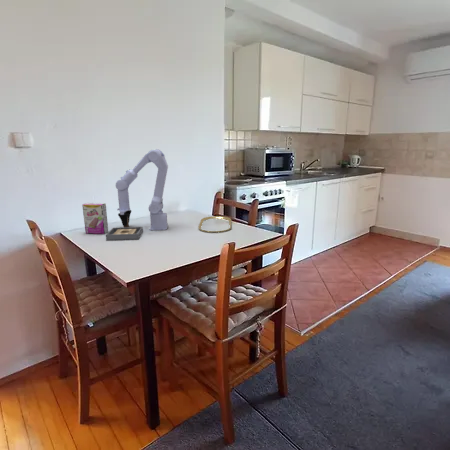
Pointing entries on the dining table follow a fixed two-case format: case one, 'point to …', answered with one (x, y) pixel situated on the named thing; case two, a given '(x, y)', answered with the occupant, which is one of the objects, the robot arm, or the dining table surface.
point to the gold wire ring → (214, 218)
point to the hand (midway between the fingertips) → (125, 224)
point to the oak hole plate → (126, 231)
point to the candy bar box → (95, 218)
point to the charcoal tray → (112, 236)
